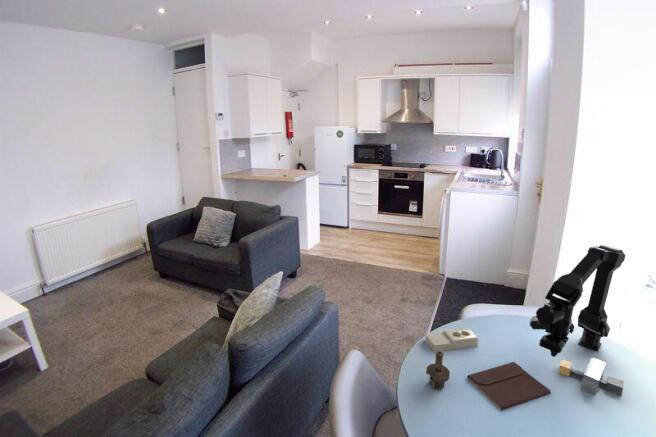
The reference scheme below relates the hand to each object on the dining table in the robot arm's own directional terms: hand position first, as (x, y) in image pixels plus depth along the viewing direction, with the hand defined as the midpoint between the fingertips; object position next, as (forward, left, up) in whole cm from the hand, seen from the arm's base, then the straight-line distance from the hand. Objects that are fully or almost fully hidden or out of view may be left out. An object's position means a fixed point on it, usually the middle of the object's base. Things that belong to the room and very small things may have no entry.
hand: (553, 356), depth 129 cm
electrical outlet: (+12, -31, -5) cm, 34 cm away
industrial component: (+37, -24, -4) cm, 45 cm away
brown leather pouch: (+21, -7, -5) cm, 23 cm away
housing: (0, +12, -4) cm, 13 cm away
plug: (-1, +11, -4) cm, 12 cm away
